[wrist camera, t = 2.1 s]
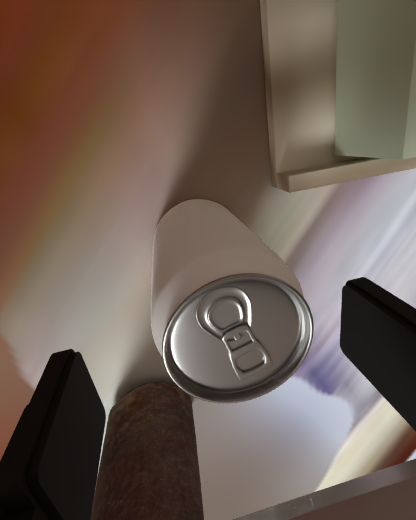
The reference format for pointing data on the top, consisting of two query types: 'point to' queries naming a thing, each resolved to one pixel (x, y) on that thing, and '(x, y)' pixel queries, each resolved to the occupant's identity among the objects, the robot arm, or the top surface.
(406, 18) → the sliding block
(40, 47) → the top surface
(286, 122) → the channel
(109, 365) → the top surface
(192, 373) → the can
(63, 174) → the top surface
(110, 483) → the brown textured cylinder
